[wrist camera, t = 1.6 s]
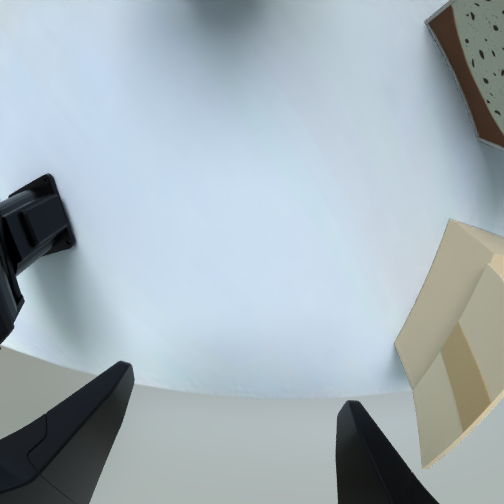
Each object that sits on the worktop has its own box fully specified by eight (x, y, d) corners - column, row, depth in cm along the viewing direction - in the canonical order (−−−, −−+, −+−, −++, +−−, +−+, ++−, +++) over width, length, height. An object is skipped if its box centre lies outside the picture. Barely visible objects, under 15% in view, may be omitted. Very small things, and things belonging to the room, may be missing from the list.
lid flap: (417, 392, 18) (411, 391, 18) (492, 265, 13) (486, 262, 13) (428, 468, 12) (420, 469, 12) (548, 334, 7) (542, 332, 7)
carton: (394, 343, 24) (415, 398, 18) (449, 218, 19) (499, 257, 13) (490, 348, 24) (514, 388, 18) (540, 252, 19) (578, 285, 13)
